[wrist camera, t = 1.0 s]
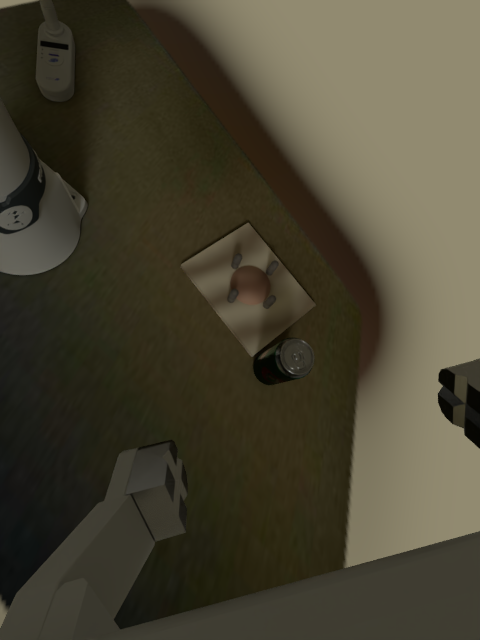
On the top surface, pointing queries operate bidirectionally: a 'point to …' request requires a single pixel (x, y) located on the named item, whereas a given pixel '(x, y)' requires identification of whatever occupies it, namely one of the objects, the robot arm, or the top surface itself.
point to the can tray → (248, 288)
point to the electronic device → (55, 56)
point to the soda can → (284, 362)
